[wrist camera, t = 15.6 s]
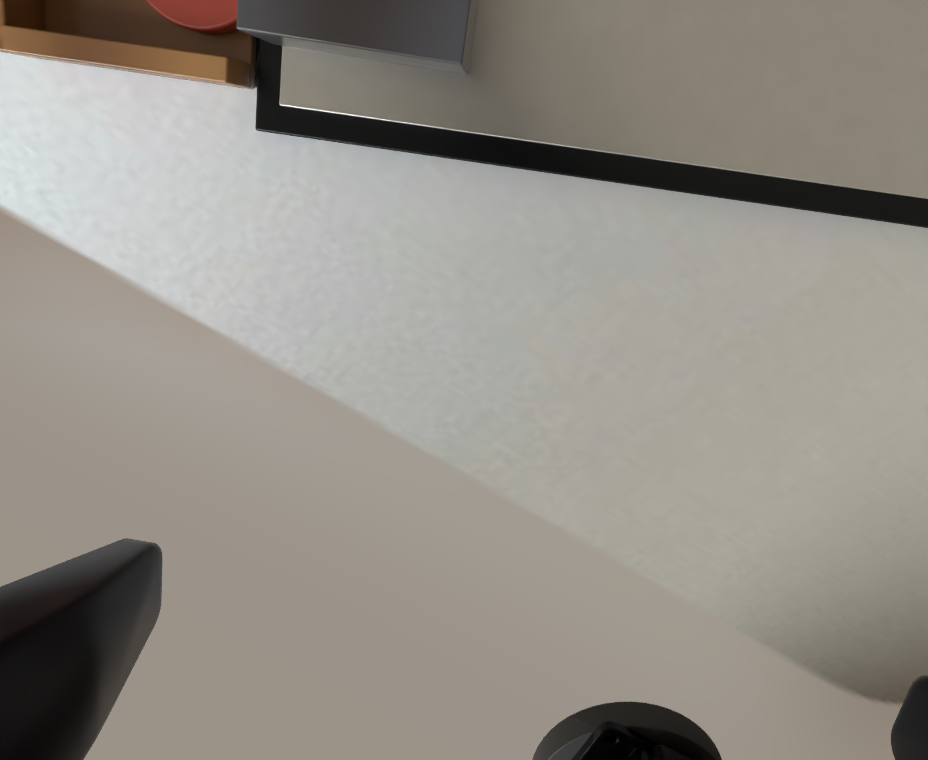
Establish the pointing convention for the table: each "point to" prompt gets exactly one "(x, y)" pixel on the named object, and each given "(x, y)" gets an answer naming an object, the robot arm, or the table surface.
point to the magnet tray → (125, 40)
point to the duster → (369, 29)
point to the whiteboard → (652, 99)
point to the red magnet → (199, 14)
